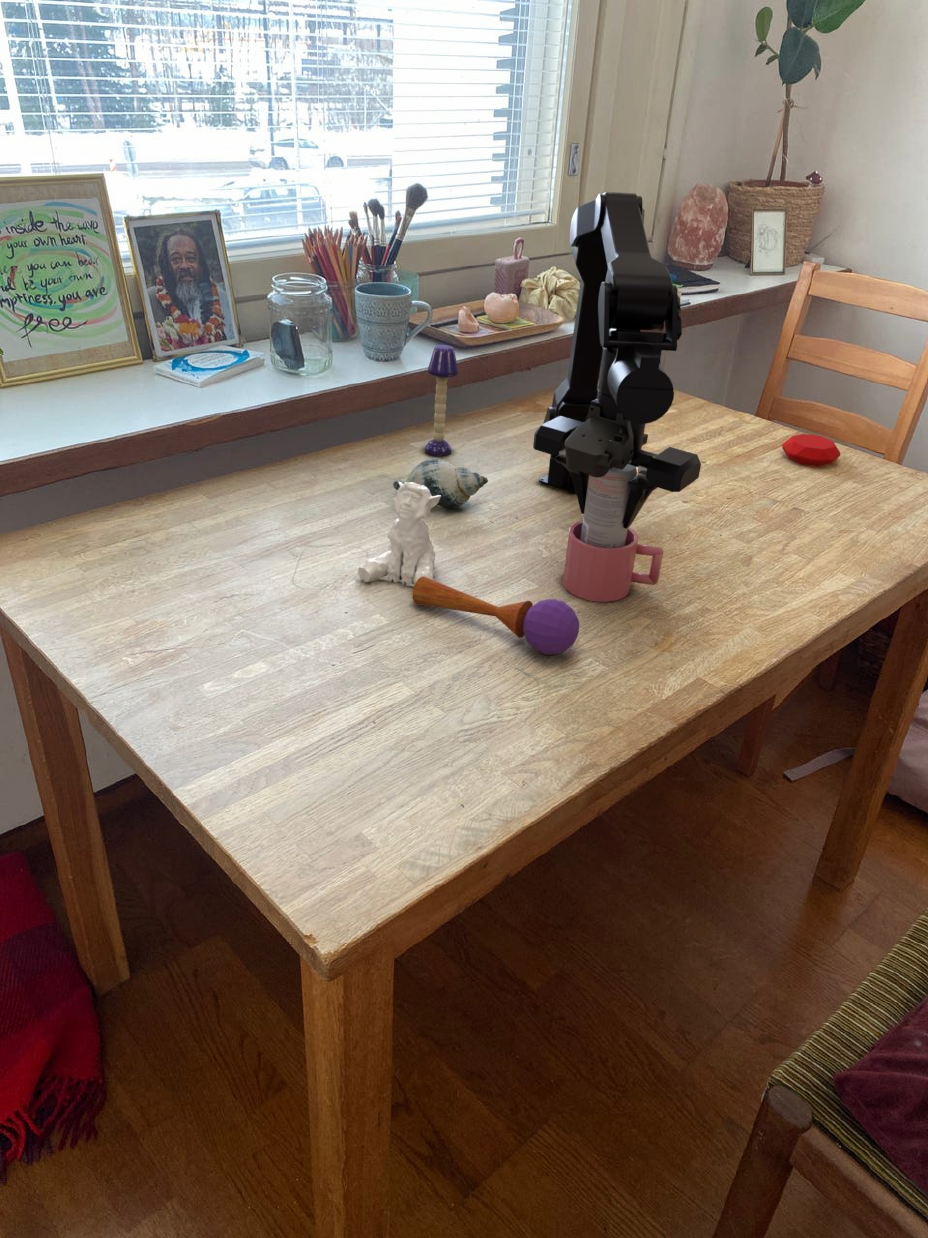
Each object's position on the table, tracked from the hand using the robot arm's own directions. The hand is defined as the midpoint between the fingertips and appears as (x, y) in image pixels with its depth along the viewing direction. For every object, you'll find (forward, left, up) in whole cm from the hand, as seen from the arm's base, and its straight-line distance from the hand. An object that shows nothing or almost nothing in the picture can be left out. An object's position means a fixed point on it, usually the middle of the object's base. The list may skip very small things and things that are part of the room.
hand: (605, 520), depth 111 cm
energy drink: (0, 0, -5) cm, 5 cm away
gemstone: (-62, +6, -9) cm, 63 cm away
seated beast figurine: (+14, -19, -9) cm, 25 cm away
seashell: (-6, -29, -9) cm, 31 cm away
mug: (-1, +2, -9) cm, 9 cm away
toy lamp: (-22, -41, -9) cm, 47 cm away
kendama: (+17, -4, -9) cm, 20 cm away
